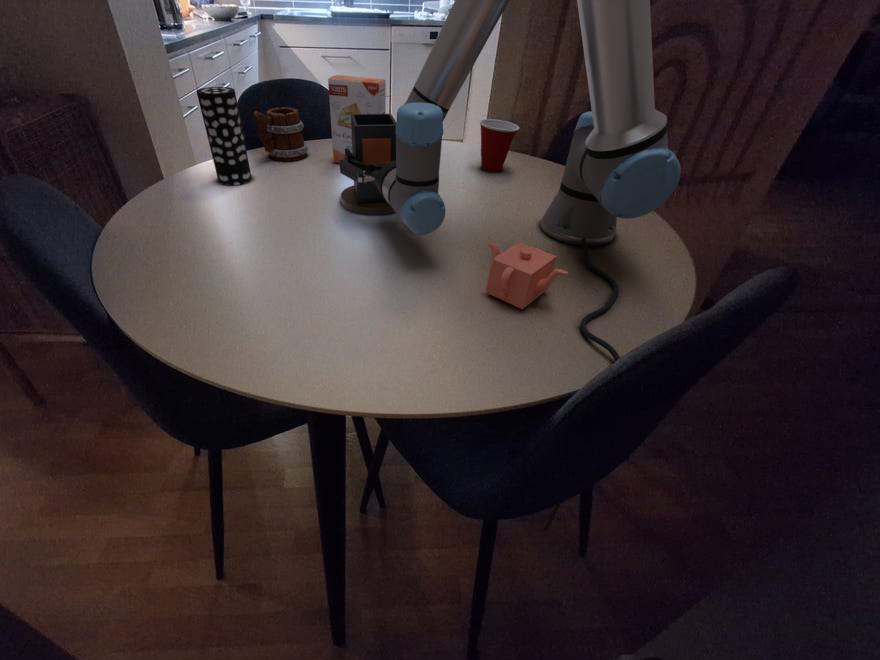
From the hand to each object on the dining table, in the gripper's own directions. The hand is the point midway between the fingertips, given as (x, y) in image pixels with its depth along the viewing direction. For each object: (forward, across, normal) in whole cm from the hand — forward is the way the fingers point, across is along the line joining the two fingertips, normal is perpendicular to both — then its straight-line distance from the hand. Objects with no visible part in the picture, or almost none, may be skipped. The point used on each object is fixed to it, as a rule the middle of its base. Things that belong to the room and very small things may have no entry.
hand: (369, 152), depth 101 cm
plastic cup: (+10, +39, -10) cm, 41 cm away
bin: (-4, 0, -8) cm, 9 cm away
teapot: (-50, +12, -10) cm, 52 cm away
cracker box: (+24, +3, -10) cm, 26 cm away
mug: (+35, -17, -10) cm, 40 cm away
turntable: (-4, 0, -10) cm, 11 cm away
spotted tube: (+19, -31, -10) cm, 38 cm away
